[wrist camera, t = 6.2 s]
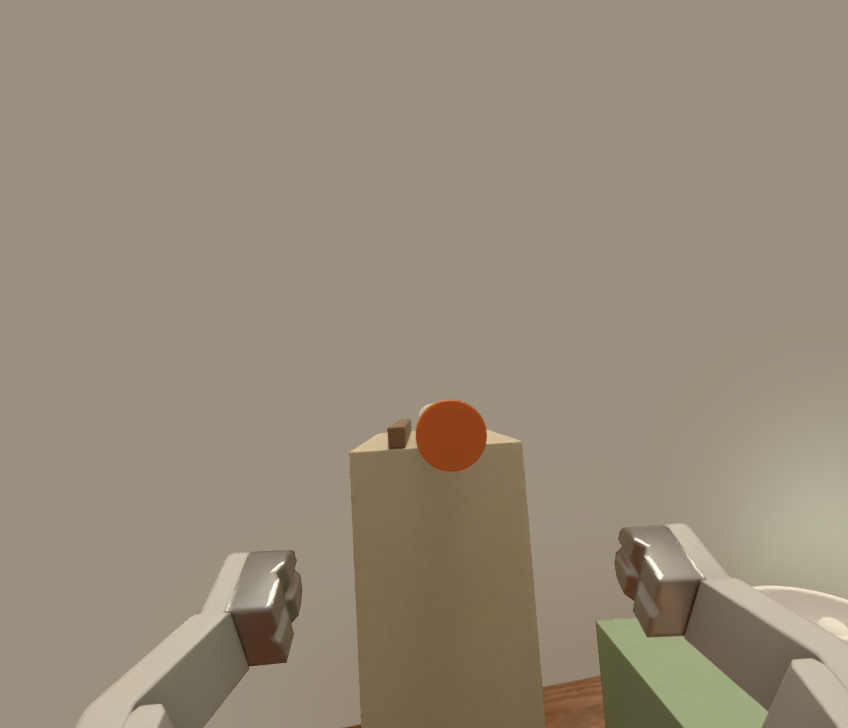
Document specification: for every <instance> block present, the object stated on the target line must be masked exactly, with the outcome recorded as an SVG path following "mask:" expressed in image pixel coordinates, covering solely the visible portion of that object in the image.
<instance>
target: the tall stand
mask: <svg viewBox="0 0 848 728" xmlns="http://www.w3.org/2000/svg"><path fill="white" fill-rule="evenodd" d="M486 431H487V441H486V446H485V449H484V451H483V453H482V455H481V456H480V458H479V459H478V460H477V461H476V462H475V463H474V464H473V465H471V466H470V467H468V468H466V469H463V470H460V471H453V472H449V471H443V470H440V469H437V468H435V467H433V466H432V465H430V464H429V463H428V462H427V461H426V460H425V459H424V458H423V457H422V455H421V454H420V452H419V449H418V447H417V443H416V431H411V419H401V420H399V421H398V422H396V423H394V424H393V425H391V426H390V427H388V429H387V432H388V433H379V434H377V435H376V436H374V437H373V438H371V439H370V440H368V441H367V442H365V443H363V444H362V445H360V446H359V447H357V448H355V449H354V450H352V451H351V452H350V453H349V455H350V478H351V499H352V500H351V501H352V523H353V546H354V569H355V592H356V613H357V614H356V615H357V637H358V658H359V659H358V661H359V683H360V707H361V728H546V726H545V714H544V702H543V690H542V678H541V665H540V654H539V642H538V629H537V617H536V606H535V593H534V581H533V569H532V557H531V545H530V533H529V520H528V509H527V496H526V484H525V473H524V461H523V448H522V441H519V440H516V439H513V438H510V437H507V436H504V435H501V434H498V433H495V432H492V431H489V430H486Z"/></svg>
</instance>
